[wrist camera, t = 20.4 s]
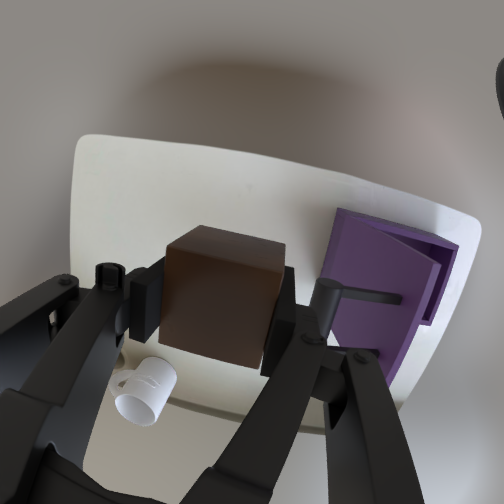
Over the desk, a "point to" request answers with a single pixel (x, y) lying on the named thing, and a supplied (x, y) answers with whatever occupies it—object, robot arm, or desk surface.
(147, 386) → the mug
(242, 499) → the robot arm
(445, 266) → the purple box
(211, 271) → the block
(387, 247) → the purple hinged box lid
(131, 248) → the desk surface
